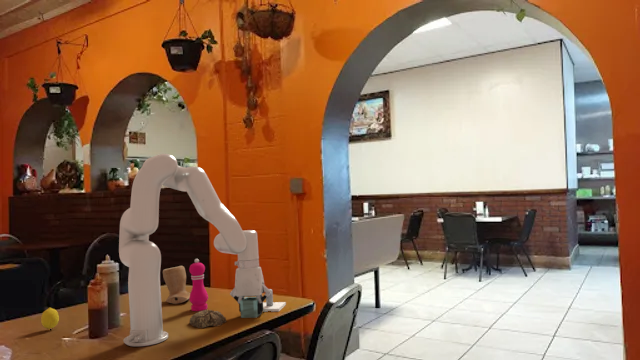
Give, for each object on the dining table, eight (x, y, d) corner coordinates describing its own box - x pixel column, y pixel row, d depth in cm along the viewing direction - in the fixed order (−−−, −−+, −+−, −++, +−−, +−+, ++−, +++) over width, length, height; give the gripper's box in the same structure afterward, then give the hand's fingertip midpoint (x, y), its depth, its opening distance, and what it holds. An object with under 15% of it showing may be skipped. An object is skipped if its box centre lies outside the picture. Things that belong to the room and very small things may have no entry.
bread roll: (187, 322, 169) (186, 308, 169) (221, 316, 174) (220, 303, 174) (195, 331, 157) (194, 316, 157) (231, 324, 163) (230, 310, 163)
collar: (256, 317, 169) (255, 300, 169) (241, 317, 170) (240, 301, 170) (262, 313, 175) (261, 296, 175) (246, 313, 176) (245, 297, 176)
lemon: (39, 333, 166) (38, 310, 166) (44, 329, 171) (43, 306, 171) (57, 331, 167) (56, 308, 167) (61, 326, 172) (60, 305, 173)
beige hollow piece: (168, 298, 211) (166, 264, 212) (195, 296, 212) (193, 262, 213) (158, 306, 196) (156, 270, 197) (187, 304, 197) (185, 268, 197)
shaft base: (279, 311, 175) (277, 292, 176) (253, 311, 177) (252, 293, 177) (285, 304, 185) (284, 286, 185) (261, 305, 187) (260, 287, 187)
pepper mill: (211, 306, 190) (208, 256, 190) (205, 311, 183) (202, 259, 183) (193, 307, 190) (191, 257, 191) (187, 312, 183) (184, 260, 184)
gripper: (222, 266, 170) (225, 316, 170) (268, 265, 167) (271, 316, 167) (230, 263, 178) (232, 311, 177) (274, 261, 175) (277, 310, 174)
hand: (251, 313), depth 172 cm, fingers closed on collar, 6 cm apart
